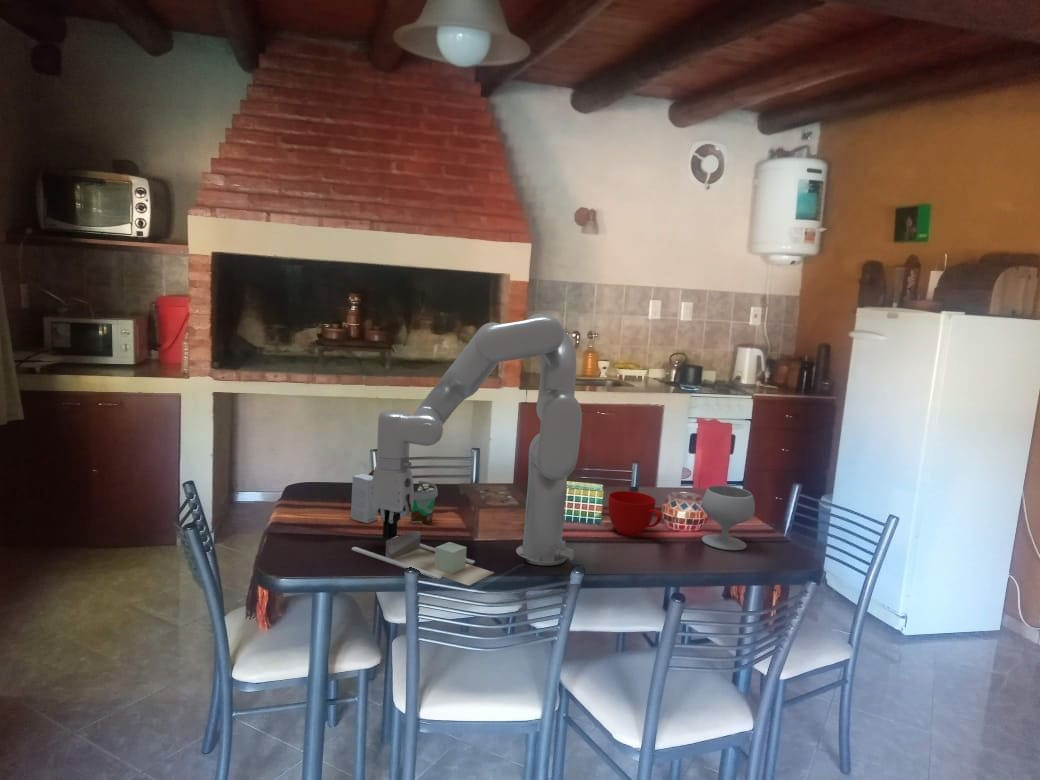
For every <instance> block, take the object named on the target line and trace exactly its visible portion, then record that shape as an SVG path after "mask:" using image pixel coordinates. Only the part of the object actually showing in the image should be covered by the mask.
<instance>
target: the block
mask: <svg viewBox="0 0 1040 780" xmlns="http://www.w3.org/2000/svg"><path fill="white" fill-rule="evenodd" d="M435 548H436V550H435V552H434V553H435V565H434V568H435V569H438V570H441V571H444V572H447V573H450V574H454V573H456V572H458V571H460V570H462V569H464V568H465V563H466V564H467V562H466V558H467V549H468V547H467V546H464V545H460V544H457V543H454V542H451V541H448V542H445V543H443V544H440V545H438V546H435Z"/></svg>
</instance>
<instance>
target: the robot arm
mask: <svg viewBox="0 0 1040 780" xmlns="http://www.w3.org/2000/svg"><path fill="white" fill-rule="evenodd" d="M537 356H539V359H540V377H539V385H538V387H539V388H538V392H537V393H538V394H537V399H536V400H537V401H536V407H535V408H536V414H537V417H538V418H539V420H540V428H539V433H537V434H536V435H535V436H534V437H533V439H532V440H531V441H530V445H529V448H528V472H527V473H528V478H527V479H528V480H527V492H526V501H525V516H524V517H525V518H524V525H523V526H524V527H523V538H522V544H521V545H519V546H518V547H517V548H516V550H515V552H516V554H517V555H518V556H519V557H522V558H525V559H526V560H524V563H526V564H531V565H535V566H547V567H548V566H558V565H560V564H564V563H565V561H566V560H568V561H573V560H574V559H575V550H574V549H572V548H567V546H566V540H563V533H564V532H563V531H564V520H565V510H566V509H565V508H566V500H567V499H566V498H567V489H568V477H569V476H570V475H571V474H572V473H573V472H574V470H575V469H576V466H577V464H578V458H579V452H580V451H579V449H580V442H581V433H582V424H583V411H582V407H581V405H580V403H579V401H578V399H577V398H576V397H575V392H576V391H575V390H576V381H577V380H576V375H577V354H576V350H575V346H574V344H573V341H572V339H571V337H570V335H569V334H568V332H567V331H566V330H565V329H564V328H563V325H562V323H561V322H560V321H559V320H558V319H556V317H553V316H551V315H548V314H545V313H544V314H543V313H535V314H532V315H531V316H529V317H528V318H527V319H525V320H524V319H523V320H519V321H514V322H508V323H507V322H505V323H499V322H494V321H493V322H488V323H485V324H483V325H482V326H481V327H479V329H478V330H477V331H476V332H475V334H474V335H473V337H472V338H471V339H470V341H468V343H467V344H466V346H464V349H463V350H462V351H461V352H460V353H459V355H458V356H457V357H456V359H455V360H454V361H453V363H452V364H451V365H450V366H449V367H448V369H447V370H446V372H445V373H444V374H443V376H442V377H441V379H439V381H438V382H437V383H436V384H435V386H434V387H433V388H432V389H431V391H430V392H429V393H428V394H427V396H426V397H425V399H424V400H423V401H422V402H421V403H420V405H419V406H418V408H416V410H415V412H414V413H413V414H409V413H408V411H403V410H397V409H392V410H389V409H388V410H384V411H383V410H382V411H381V412H380V413H379V414H378V419H377V423H378V424H377V446H376V448H377V450H376V465H375V467H374V469H373V470H374V474H373V479H372V487H371V503H372V505H373V509H374V510H376V511H377V513H378V514H379V516H380V520H381V522H382V523H383V525H382V538H383V539H387V540H390V539H392V538H394V537H396V536H398V522H400V520H401V519H407V518H409V517H410V516H411V513H410V510H411V509H412V508H413V505H414V492H415V488H414V479H413V478H414V477H413V472H412V470H411V469H410V468H411V466H412V462H411V461H410V446H411V445H410V444H413V445H419V446H424V447H425V446H426V447H427V446H428V447H429V446H433V445H435V444H437V443H438V442H439V441H440V440H441V439H442V437H443V433H444V426H443V425H445V423H446V422H447V420H448V419H449V418H450V416H451V415H452V413H453V412H455V410H456V409H457V408H458V407H459V406H460V405H461V404H462V403H463V401H465V400H466V399H468V398H469V397H472V396H473V395H474V394H475V393H477V391H479V389H480V388H481V386H483V385H484V383H485V381H486V380H487V379H488V377H489V376H490V375H491V373H492V372H493V371H494V370H495V368H496V367H497V366H498V364H499V363H503V362H507V361H508V362H509V361H517V360H521V359H526V358H527V359H528V358H531V357H537Z"/></svg>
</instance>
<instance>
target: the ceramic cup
mask: <svg viewBox="0 0 1040 780" xmlns="http://www.w3.org/2000/svg"><path fill="white" fill-rule="evenodd" d="M656 502H657V501H656V499H655V498H654V497H653V496H651V495H649V494H645V493H642V492H637V491H627V490H624V491H623V490H621V491H620V490H618V491H613V492H610V493H609V495H608V504H607V505H608V506H607V507H608V508H607V509H608V515H609V519H610V522H611V524H612V526H613V527H614V528H615V530H616V532H617V533H618V534H620V535H624V536H632V537H635V536H636V537H637V536H640V535H641V534H642V533H643V532H644V531H646V529H647V528H653V527H657V525H659V524H660V522H661V520H662V515H661V512H660V511H659V510H658V509H655V508H656ZM654 513H655V515H656V521H655V522H654V523H651V522H652V519H653V517H654Z"/></svg>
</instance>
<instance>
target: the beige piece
mask: <svg viewBox="0 0 1040 780" xmlns="http://www.w3.org/2000/svg"><path fill="white" fill-rule="evenodd" d="M421 534H422V533H421V532H420V531H416V530H413V531H409V532H407V533H404V534H402V535H399V536H398V535H397V536H398V537H395V538H391V539H387V540H386V542H385V556H384V557H387V558H390V559H393V560H396V561H399V562H402V563H404V564H407V565H410V566H413V567H416V568H419V569H422V570H425V571H428V572H431V573H434V574H437V575H440V576H442V578H445V579H448V580H451V581H454V582H456V583H460V584H462V585H466V586H468V587H469V586H471V585H473V584H475V583H477V582H479V581H481V580H482V579H485V578H487V577H490V576H492V575H493V574H495V572H494V571H490V570H487V569H486V568H485V569H484V568H482V567H479V566H476V565H473V564H470V563H467V562H466V563H465V568H464V569H462V570H460V571H458V572H456V573H454V574H450V573H447V572H444V571H441V570H438V569H435V568H434V565H435V552H433V551H430V550H426V549H423V548H420V544H421ZM491 579H494V576H492V577H490V578H487V579H486V580H484V581H482V582H480V583H478V584H477V585H474V586H472V587H471V589H473V588H476V587H477V586H480V585H481V584H483V583H485V582H487V581H489V580H491Z"/></svg>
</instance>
